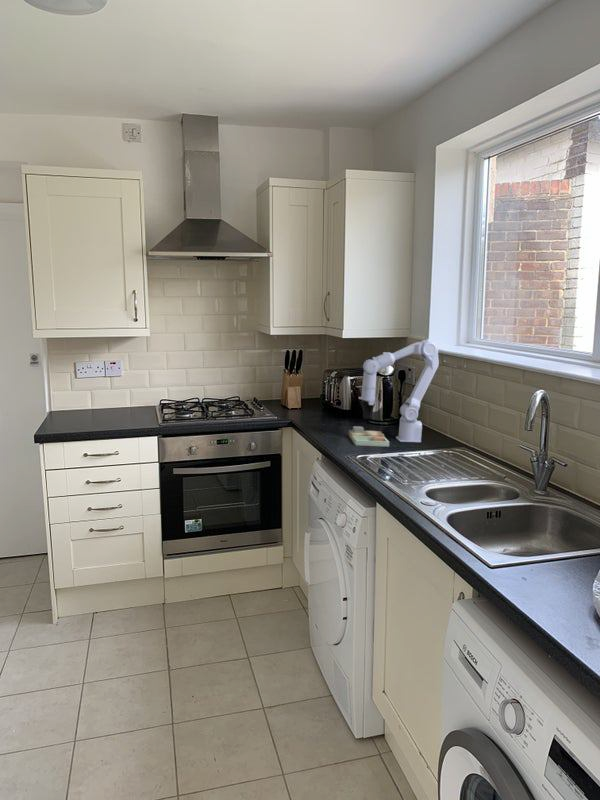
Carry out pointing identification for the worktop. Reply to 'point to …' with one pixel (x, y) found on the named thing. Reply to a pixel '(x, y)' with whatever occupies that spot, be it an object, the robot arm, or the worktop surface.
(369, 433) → the board
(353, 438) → the tray
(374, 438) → the terracotta tile
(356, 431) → the grey tile
